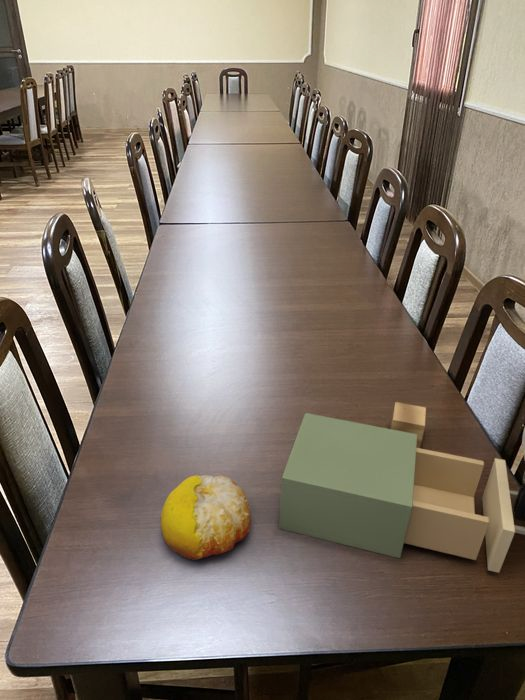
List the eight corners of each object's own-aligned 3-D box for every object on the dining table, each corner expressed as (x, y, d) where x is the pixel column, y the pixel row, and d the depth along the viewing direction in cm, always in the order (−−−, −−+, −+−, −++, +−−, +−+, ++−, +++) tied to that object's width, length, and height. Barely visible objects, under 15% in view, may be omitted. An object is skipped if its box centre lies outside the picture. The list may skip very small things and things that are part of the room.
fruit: (232, 581, 59) (210, 528, 56) (156, 567, 64) (132, 517, 60) (270, 507, 68) (253, 458, 64) (201, 500, 73) (182, 453, 69)
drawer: (539, 509, 68) (555, 470, 65) (554, 586, 59) (574, 545, 55) (386, 476, 72) (393, 438, 69) (377, 543, 63) (385, 502, 60)
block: (420, 430, 82) (426, 407, 80) (419, 449, 79) (425, 425, 76) (391, 425, 83) (395, 401, 81) (388, 443, 80) (393, 419, 77)
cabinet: (406, 483, 73) (417, 434, 68) (400, 558, 62) (412, 506, 58) (301, 460, 76) (305, 412, 72) (278, 528, 66) (281, 477, 61)
